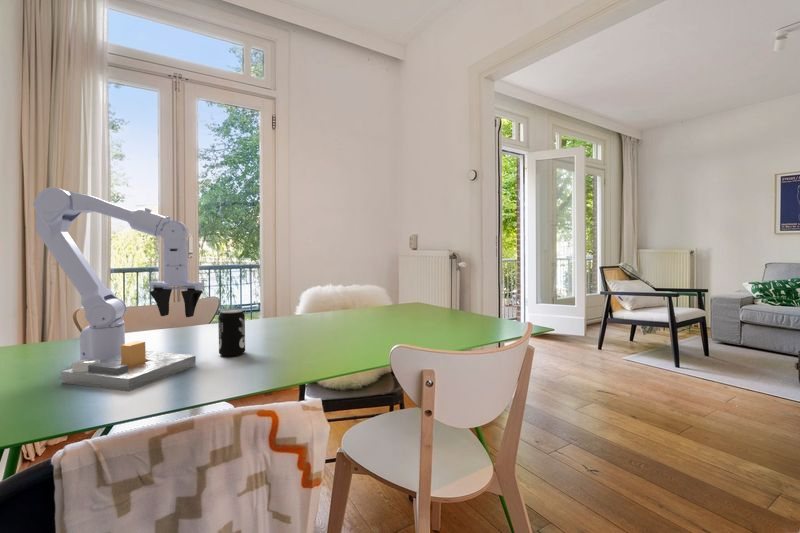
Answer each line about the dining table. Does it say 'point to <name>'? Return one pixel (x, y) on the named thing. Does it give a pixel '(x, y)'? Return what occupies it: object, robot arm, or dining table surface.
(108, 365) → the gray slotted plate
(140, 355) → the orange rectangular block
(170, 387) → the dining table surface
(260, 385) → the dining table surface
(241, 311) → the beverage can
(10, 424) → the dining table surface
